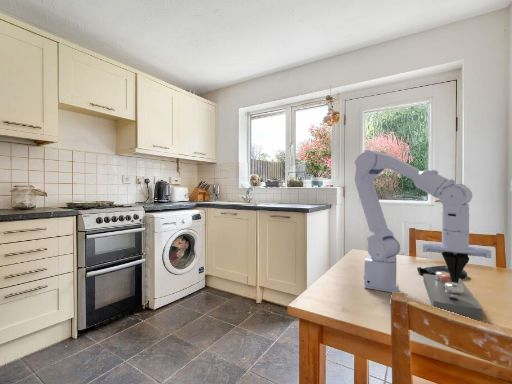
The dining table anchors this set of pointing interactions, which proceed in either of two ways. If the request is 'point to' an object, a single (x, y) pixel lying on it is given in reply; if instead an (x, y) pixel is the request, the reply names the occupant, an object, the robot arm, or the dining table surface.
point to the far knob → (439, 274)
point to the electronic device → (438, 268)
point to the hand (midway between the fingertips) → (454, 281)
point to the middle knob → (445, 278)
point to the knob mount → (442, 299)
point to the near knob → (454, 289)
